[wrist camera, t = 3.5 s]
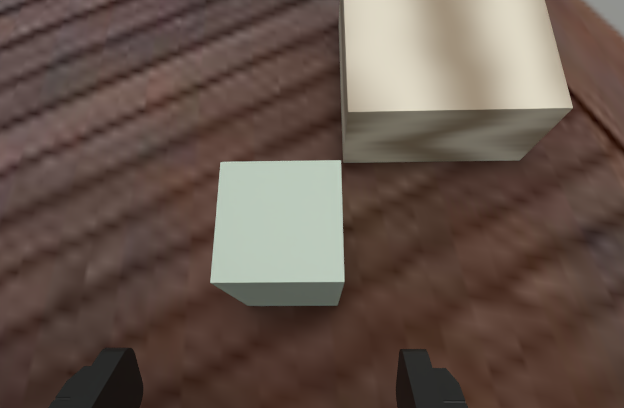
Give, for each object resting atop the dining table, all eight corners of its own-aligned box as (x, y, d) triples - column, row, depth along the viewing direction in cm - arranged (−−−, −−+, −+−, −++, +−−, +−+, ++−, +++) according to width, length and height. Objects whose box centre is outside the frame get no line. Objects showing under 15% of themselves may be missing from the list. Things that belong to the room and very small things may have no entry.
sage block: (248, 306, 23) (210, 282, 15) (252, 220, 24) (220, 161, 17) (337, 305, 22) (344, 282, 15) (335, 220, 24) (340, 160, 17)
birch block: (343, 164, 26) (348, 111, 20) (338, 28, 29) (341, -48, 24) (517, 162, 25) (573, 107, 20) (490, 24, 29) (530, -54, 24)
